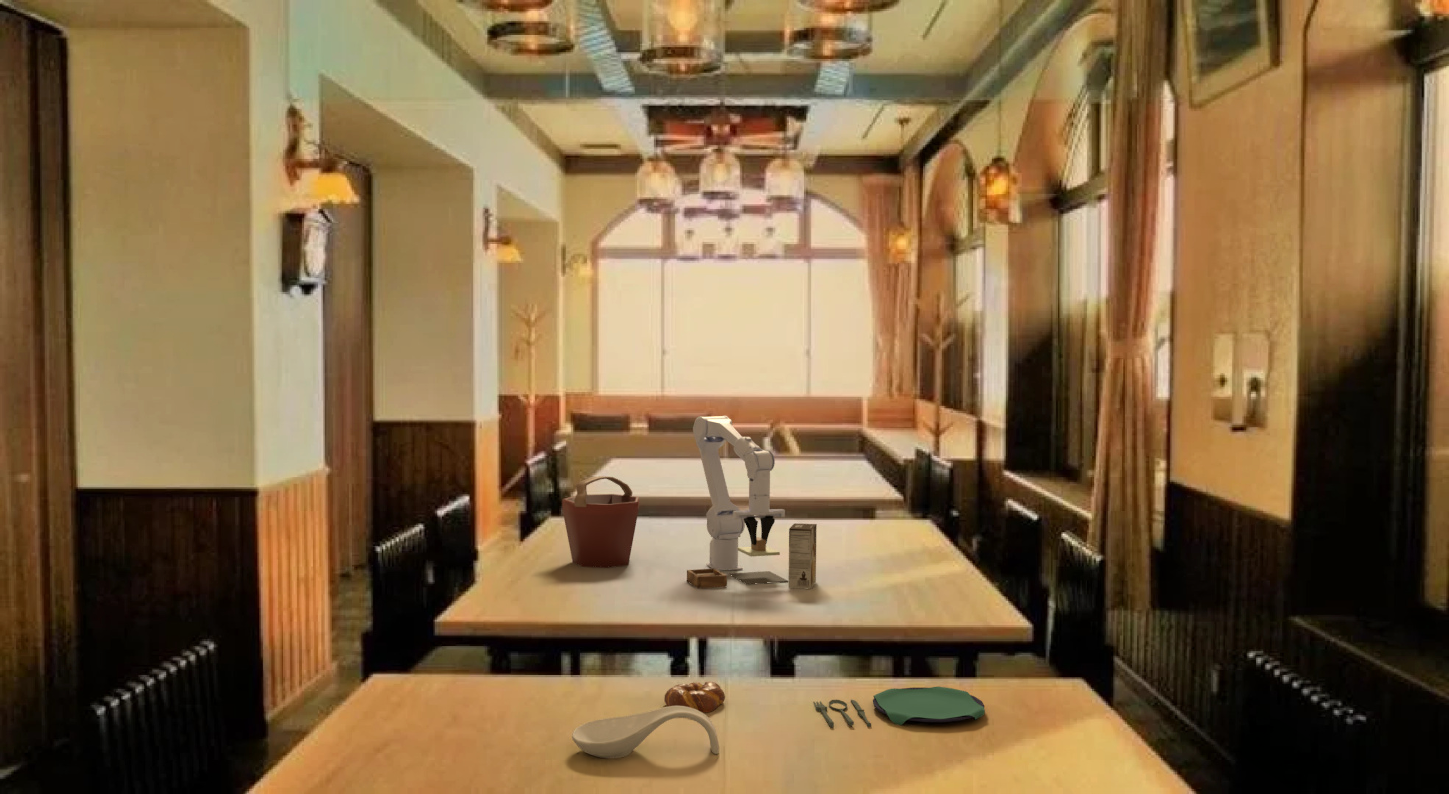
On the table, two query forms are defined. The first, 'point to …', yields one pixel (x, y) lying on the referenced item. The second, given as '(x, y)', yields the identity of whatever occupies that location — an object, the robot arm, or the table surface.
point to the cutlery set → (917, 705)
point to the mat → (758, 577)
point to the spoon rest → (634, 731)
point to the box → (706, 578)
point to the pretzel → (696, 696)
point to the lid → (758, 549)
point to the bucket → (600, 525)
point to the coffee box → (802, 555)
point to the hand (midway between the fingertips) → (758, 544)
